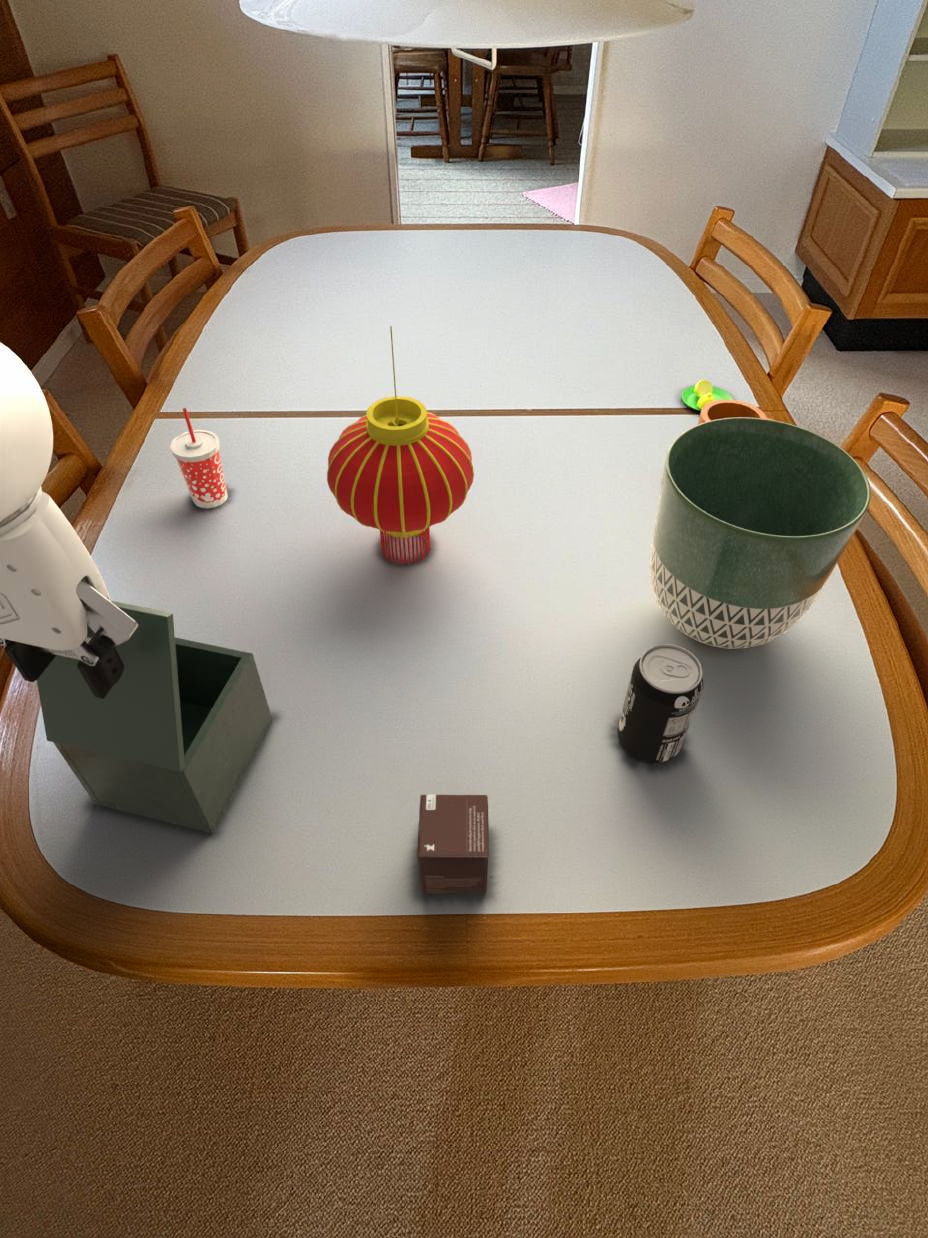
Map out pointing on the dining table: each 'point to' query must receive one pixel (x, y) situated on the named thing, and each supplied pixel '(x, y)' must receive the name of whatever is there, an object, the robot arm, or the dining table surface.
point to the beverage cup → (200, 465)
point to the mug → (729, 410)
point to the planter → (750, 527)
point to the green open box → (189, 744)
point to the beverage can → (660, 703)
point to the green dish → (703, 394)
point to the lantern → (400, 471)
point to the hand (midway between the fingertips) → (75, 673)
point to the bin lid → (121, 697)
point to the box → (453, 843)
